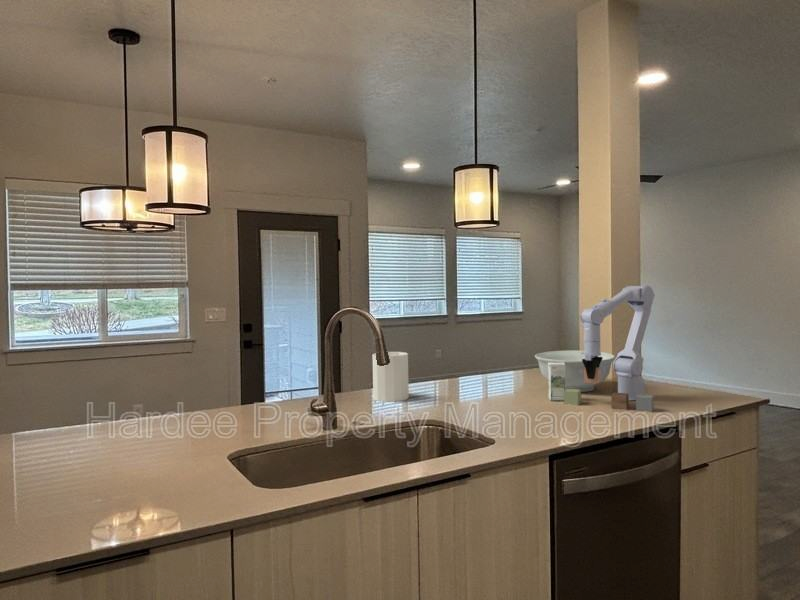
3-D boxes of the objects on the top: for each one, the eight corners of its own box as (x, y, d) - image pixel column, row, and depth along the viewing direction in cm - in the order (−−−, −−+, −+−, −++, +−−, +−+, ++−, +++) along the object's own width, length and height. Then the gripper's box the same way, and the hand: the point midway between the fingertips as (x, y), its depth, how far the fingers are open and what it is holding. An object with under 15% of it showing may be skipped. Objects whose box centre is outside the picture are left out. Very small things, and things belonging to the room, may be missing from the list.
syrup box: (563, 398, 220) (562, 361, 220) (566, 401, 214) (565, 363, 214) (548, 398, 221) (547, 361, 220) (550, 401, 215) (550, 363, 214)
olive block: (567, 401, 214) (567, 388, 214) (581, 402, 211) (580, 389, 211) (564, 404, 210) (564, 391, 210) (577, 405, 207) (577, 392, 207)
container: (393, 403, 218) (392, 357, 217) (365, 399, 226) (364, 354, 226) (415, 396, 229) (414, 352, 229) (387, 393, 238) (386, 350, 237)
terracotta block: (587, 380, 212) (586, 366, 212) (600, 380, 210) (600, 367, 210) (584, 382, 208) (583, 368, 208) (598, 383, 205) (597, 369, 205)
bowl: (544, 397, 223) (544, 360, 222) (528, 382, 255) (528, 350, 254) (626, 396, 221) (626, 359, 221) (600, 381, 254) (600, 349, 253)
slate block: (638, 408, 201) (637, 394, 201) (653, 409, 199) (653, 395, 199) (636, 411, 197) (636, 396, 197) (651, 412, 194) (651, 398, 194)
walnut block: (614, 405, 205) (613, 392, 205) (628, 407, 203) (628, 393, 203) (611, 408, 201) (611, 394, 201) (626, 410, 198) (626, 396, 198)
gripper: (585, 338, 217) (585, 373, 217) (576, 342, 204) (576, 379, 205) (604, 339, 213) (604, 374, 214) (596, 343, 201) (597, 381, 201)
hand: (592, 377), depth 209 cm, fingers closed on terracotta block, 5 cm apart
